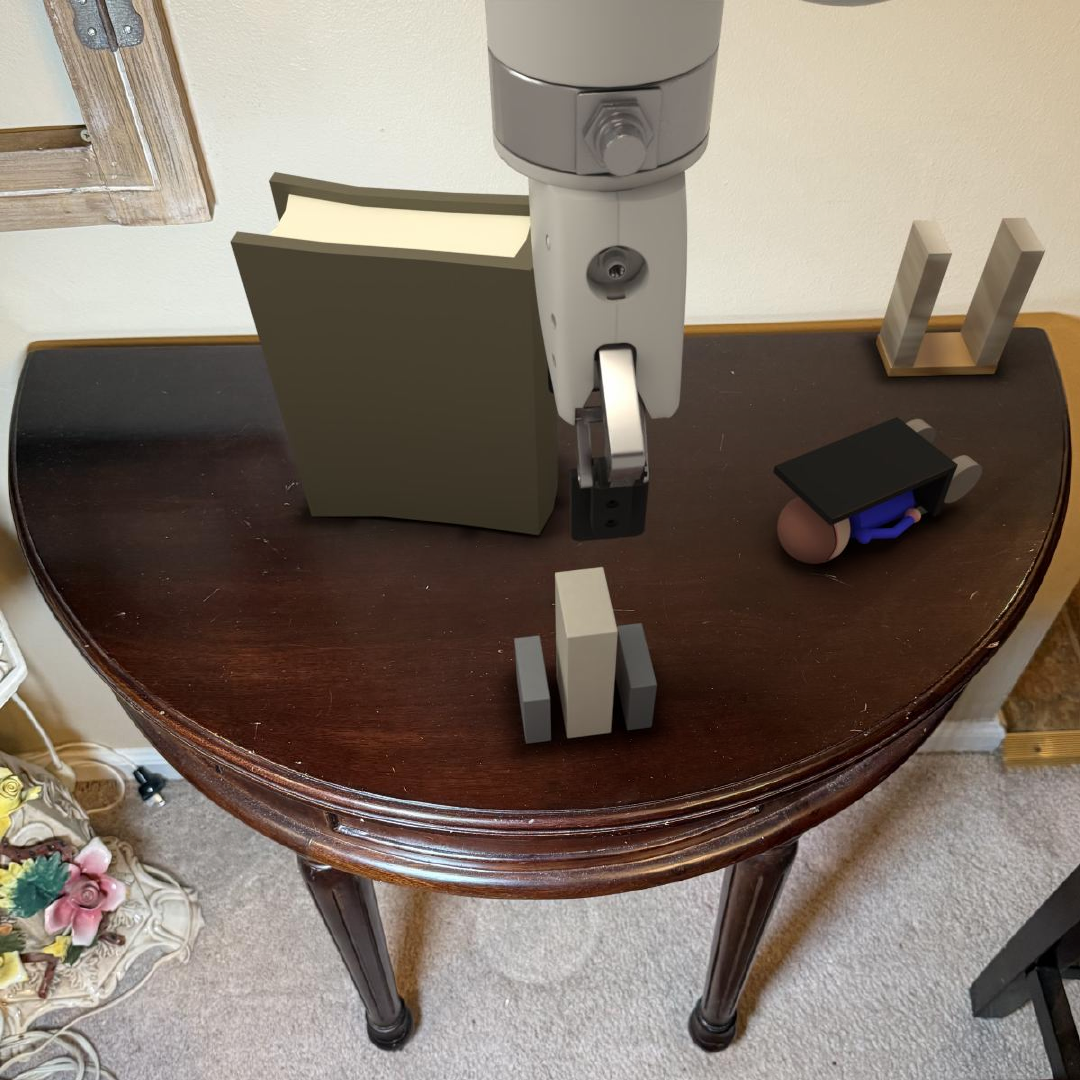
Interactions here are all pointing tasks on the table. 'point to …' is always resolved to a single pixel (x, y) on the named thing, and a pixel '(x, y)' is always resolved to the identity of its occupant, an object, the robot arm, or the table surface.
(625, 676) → the grey rectangular blocks
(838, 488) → the figurine character
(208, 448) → the table surface
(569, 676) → the beige rectangular block
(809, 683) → the table surface
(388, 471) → the book
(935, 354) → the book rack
